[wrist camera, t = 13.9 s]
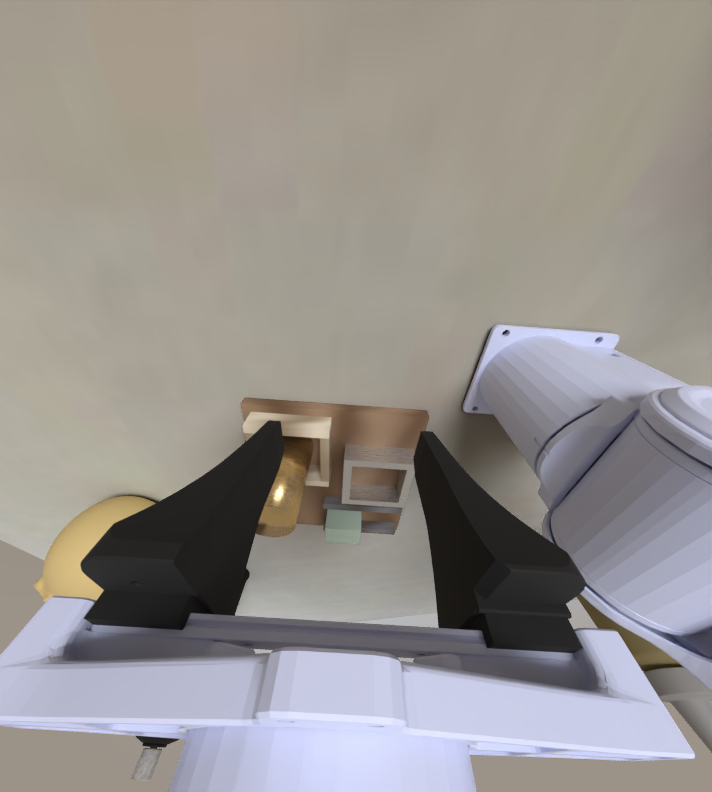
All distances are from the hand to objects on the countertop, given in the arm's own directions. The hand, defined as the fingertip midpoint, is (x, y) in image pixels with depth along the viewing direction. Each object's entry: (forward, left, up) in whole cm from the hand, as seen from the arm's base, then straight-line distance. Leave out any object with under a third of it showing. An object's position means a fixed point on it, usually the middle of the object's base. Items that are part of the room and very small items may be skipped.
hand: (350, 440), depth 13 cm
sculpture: (+27, +25, -10) cm, 38 cm away
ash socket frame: (+6, +9, -8) cm, 13 cm away
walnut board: (+2, +14, -9) cm, 17 cm away
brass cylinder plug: (+6, +9, -8) cm, 14 cm away
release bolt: (0, +20, -8) cm, 22 cm away
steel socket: (-3, +12, -8) cm, 15 cm away
